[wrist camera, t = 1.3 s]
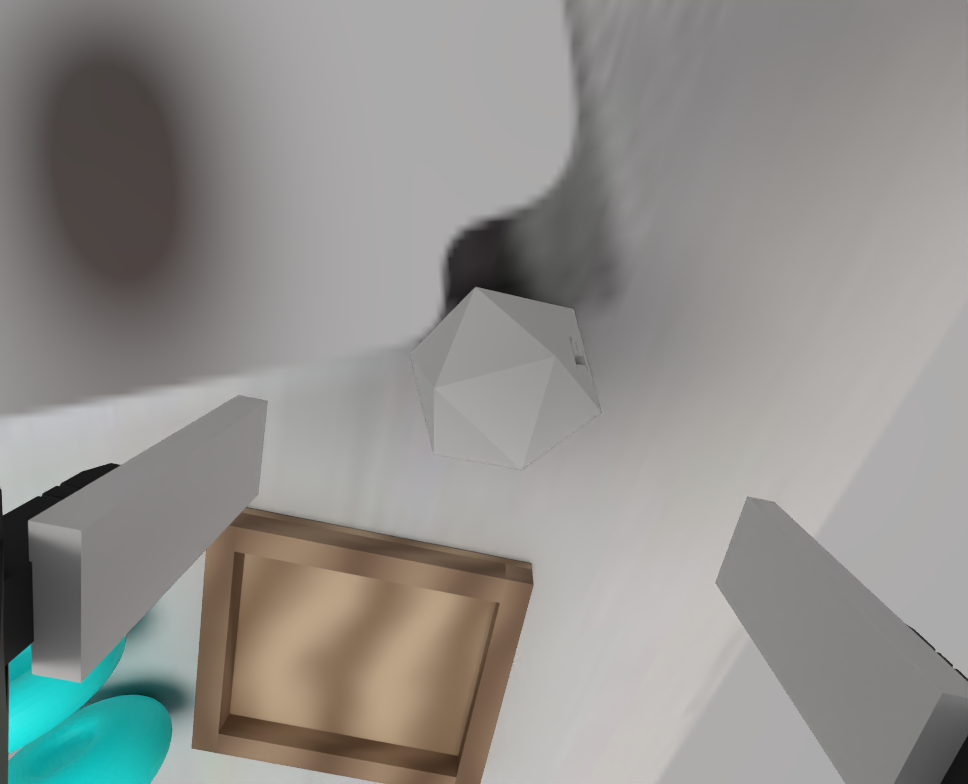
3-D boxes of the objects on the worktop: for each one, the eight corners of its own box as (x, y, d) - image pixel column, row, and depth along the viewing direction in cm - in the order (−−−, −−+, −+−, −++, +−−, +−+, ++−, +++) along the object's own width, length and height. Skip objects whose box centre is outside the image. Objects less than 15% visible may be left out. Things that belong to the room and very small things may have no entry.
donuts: (76, 733, 37) (-71, 904, 28) (8, 613, 35) (-180, 755, 25) (209, 708, 36) (105, 875, 27) (149, 583, 34) (11, 718, 24)
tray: (531, 563, 33) (533, 584, 31) (477, 769, 37) (475, 800, 35) (226, 503, 32) (208, 521, 30) (208, 720, 37) (191, 748, 35)
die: (548, 455, 31) (664, 434, 23) (409, 492, 28) (484, 484, 19) (513, 322, 32) (612, 253, 24) (374, 340, 29) (431, 266, 20)
